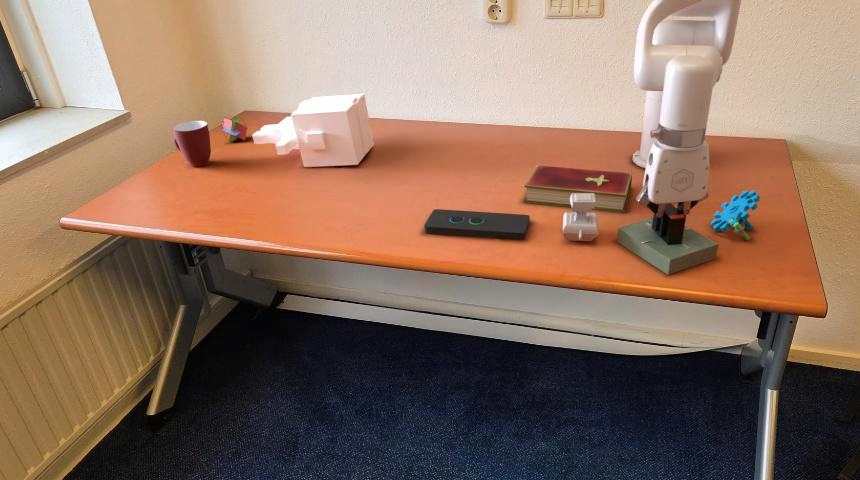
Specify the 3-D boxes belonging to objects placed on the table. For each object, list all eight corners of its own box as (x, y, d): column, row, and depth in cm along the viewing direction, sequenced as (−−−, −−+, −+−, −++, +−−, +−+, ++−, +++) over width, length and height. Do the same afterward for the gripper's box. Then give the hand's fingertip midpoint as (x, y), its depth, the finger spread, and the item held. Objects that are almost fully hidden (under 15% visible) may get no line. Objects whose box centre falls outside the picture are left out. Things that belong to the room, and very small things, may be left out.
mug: (168, 167, 166) (157, 129, 161) (189, 156, 173) (178, 119, 167) (203, 171, 163) (192, 132, 158) (223, 159, 170) (213, 121, 164)
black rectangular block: (652, 227, 122) (656, 201, 120) (666, 226, 123) (670, 200, 120) (667, 245, 117) (671, 218, 114) (681, 243, 117) (686, 217, 114)
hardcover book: (536, 180, 150) (537, 163, 148) (630, 189, 144) (632, 171, 142) (524, 202, 141) (524, 184, 139) (624, 212, 135) (626, 193, 133)
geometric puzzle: (259, 129, 182) (238, 106, 180) (246, 137, 177) (225, 113, 174) (243, 143, 186) (223, 120, 183) (231, 152, 180) (209, 128, 178)
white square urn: (562, 226, 131) (564, 186, 126) (596, 226, 130) (599, 187, 126) (562, 247, 123) (564, 206, 119) (598, 248, 123) (601, 207, 118)
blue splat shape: (710, 206, 132) (755, 179, 125) (728, 226, 133) (774, 200, 127) (707, 238, 124) (755, 210, 117) (727, 259, 125) (775, 232, 119)
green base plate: (616, 242, 125) (617, 227, 123) (662, 227, 129) (664, 213, 127) (667, 275, 114) (670, 259, 112) (716, 258, 118) (719, 242, 116)
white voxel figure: (286, 145, 182) (383, 139, 177) (246, 180, 162) (354, 176, 156) (272, 91, 175) (372, 84, 169) (228, 122, 154) (340, 114, 148)
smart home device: (434, 207, 136) (530, 213, 132) (434, 215, 137) (530, 221, 133) (423, 225, 129) (524, 232, 125) (423, 233, 130) (524, 241, 126)
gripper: (642, 146, 106) (631, 247, 116) (738, 138, 107) (719, 238, 117) (626, 131, 112) (617, 227, 122) (717, 123, 113) (701, 219, 123)
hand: (667, 232), depth 119 cm, fingers closed on black rectangular block, 2 cm apart
